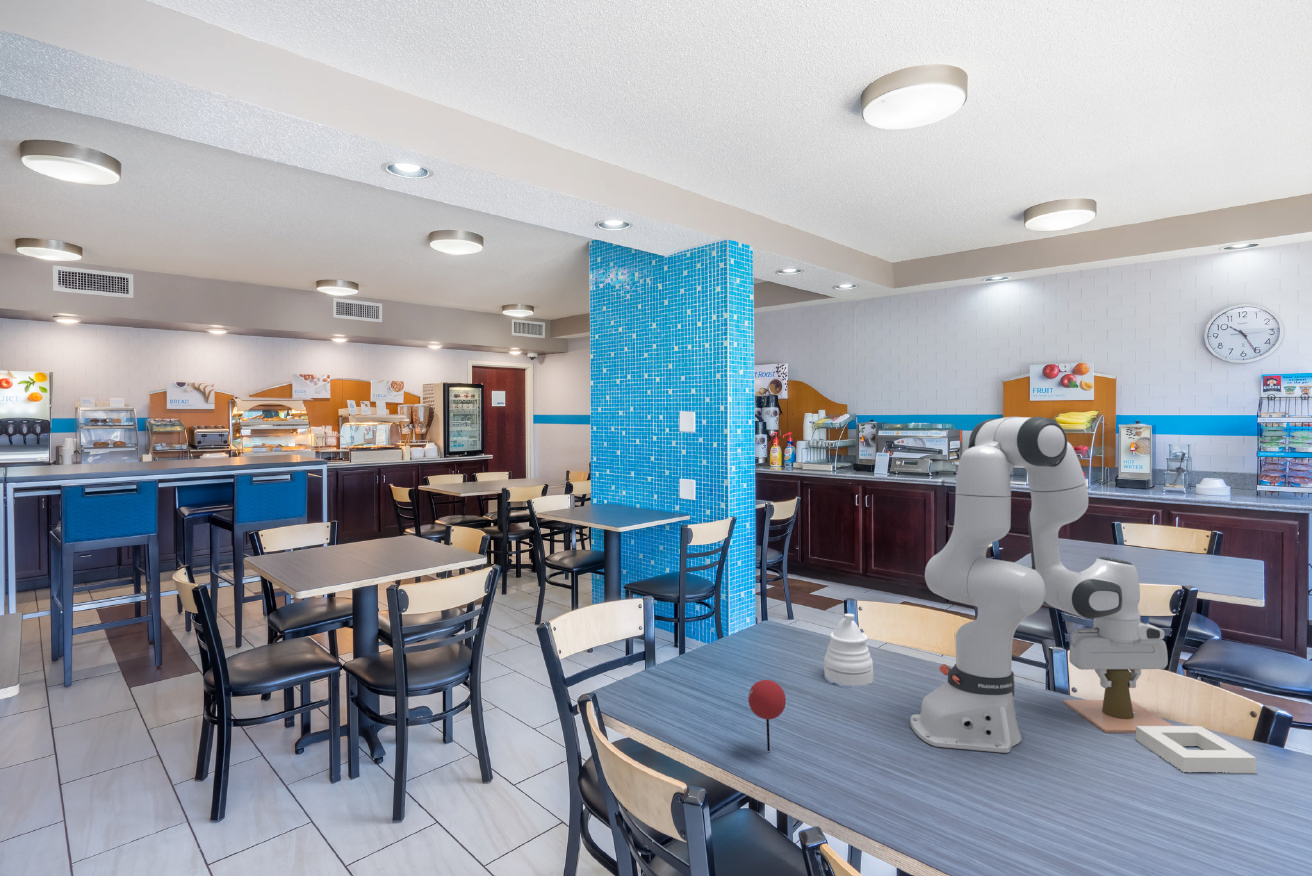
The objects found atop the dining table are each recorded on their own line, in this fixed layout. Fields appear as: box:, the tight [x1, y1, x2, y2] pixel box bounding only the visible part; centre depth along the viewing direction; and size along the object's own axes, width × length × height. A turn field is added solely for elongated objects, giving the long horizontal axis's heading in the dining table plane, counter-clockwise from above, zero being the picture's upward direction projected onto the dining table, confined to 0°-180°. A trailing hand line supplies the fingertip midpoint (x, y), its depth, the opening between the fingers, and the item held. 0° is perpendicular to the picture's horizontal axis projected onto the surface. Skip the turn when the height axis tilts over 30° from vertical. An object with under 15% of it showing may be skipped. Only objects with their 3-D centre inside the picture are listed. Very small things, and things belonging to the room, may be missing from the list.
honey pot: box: [823, 613, 874, 686], centre depth 175 cm, size 13×13×18 cm
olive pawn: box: [1102, 669, 1134, 719], centre depth 149 cm, size 6×6×11 cm
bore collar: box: [1135, 725, 1257, 774], centre depth 130 cm, size 13×13×3 cm
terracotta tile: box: [1062, 699, 1174, 734], centre depth 148 cm, size 16×16×1 cm
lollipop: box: [747, 679, 787, 752], centre depth 136 cm, size 8×8×15 cm
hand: (1118, 687), depth 149 cm, fingers open, 4 cm apart
